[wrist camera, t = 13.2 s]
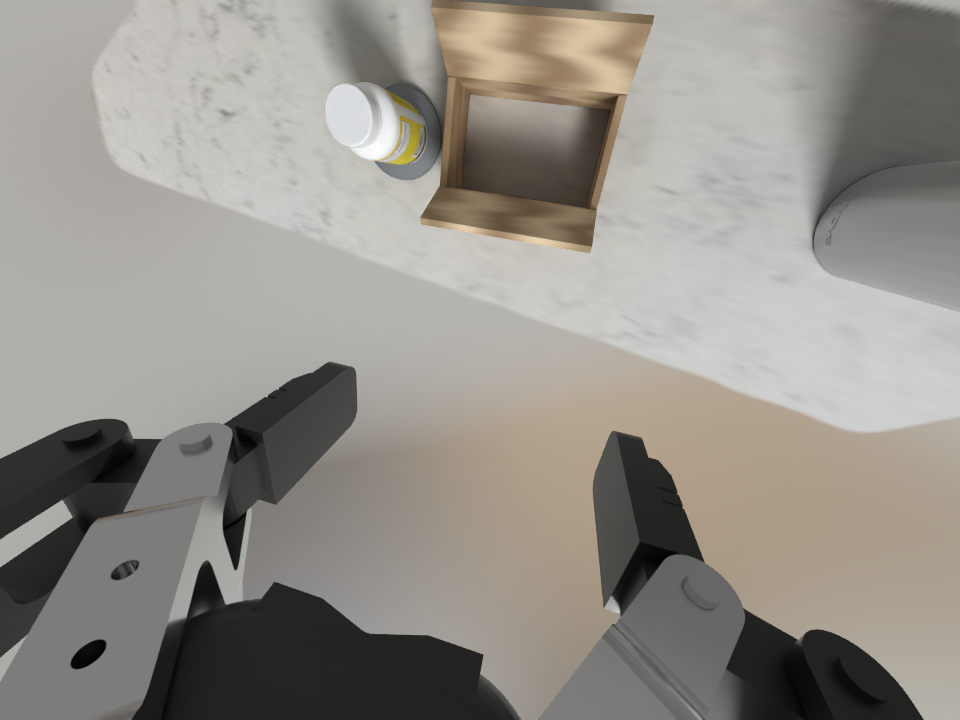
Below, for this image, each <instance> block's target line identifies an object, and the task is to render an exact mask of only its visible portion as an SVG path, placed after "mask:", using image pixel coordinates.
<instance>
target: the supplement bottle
mask: <svg viewBox="0 0 960 720" xmlns="http://www.w3.org/2000/svg"><path fill="white" fill-rule="evenodd" d="M325 118H326V122H327V125H328V127H329V130H330V132H331V133H332V135H333V136H334V137H335V138H336V139H337V140H338V141H339V142H340V143H342V144H344V145H346V146H348V147H349V148H350V149H351V150H352V151H353V152H354V153H355V154H357V155H358V156H360V157H362V158H364V159H368V160H372V161H379V162H385V163H391V164H398V165H408V164H412V163H414V162H415V161H417V160H418V159H419V158H420V157H421V156H422V154H423V152H424V151H425V148H426V145H427V138H428V133H427V126H426V123H425V120H424V118H423V116H422V114H421V113H420V111H419V110H418V109H417V108H416V107H415V106H413V105H412V104H411V103H409V102H407V101H405V100H404V99H402V98H400V97H398V96H396V95H394V94H393V93H391V92H389V91H387V90H386V89H384V88H382V87H380V86H378V85H376V84H373V83H370V82H360V83H356V84H354V85H353V84H349V83H341V84H338V85H336V86H335V87H333V88H332V89H331V91H330V92H329V94H328V96H327V98H326V102H325Z"/></svg>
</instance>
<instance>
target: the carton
mask: <svg viewBox="0 0 960 720" xmlns="http://www.w3.org/2000/svg"><path fill="white" fill-rule="evenodd" d="M431 9H432V13H433V17H434V22H435V26H436V30H437V34H438V38H439V42H440V47H441V51H442V55H443V59H444V63H445V67H446V72H447V75H448V83H447V97H446V111H445V124H444V138H443V152H442V165H441V179H440V186H439V188H438V190H437V191H436V193H435V194H434V196H433V198H432V199H431V201H430V203H429V204H428V206H427V208H426V209H425V211H424V212H423V214H422V216H421V217H420V220H421V224H423V225H429V226H435V227H440V228H446V229H452V230H458V231H464V232H470V233H475V234H481V235H487V236H493V237H499V238H505V239H510V240H516V241H522V242H528V243H534V244H540V245H545V246H551V247H557V248H563V249H569V250H575V251H580V252H586V253H590V251H591V248H592V242H593V234H594V227H595V219H596V210H597V206H598V203H599V199H600V195H601V191H602V188H603V184H604V180H605V176H606V173H607V169H608V165H609V161H610V157H611V154H612V150H613V146H614V142H615V139H616V135H617V131H618V127H619V124H620V120H621V116H622V112H623V108H624V105H625V101H626V97H627V94H628V91H629V89H630V86H631V83H632V80H633V77H634V75H635V72H636V69H637V66H638V63H639V60H640V58H641V55H642V52H643V49H644V46H645V44H646V41H647V38H648V35H649V32H650V30H651V27H652V24H653V19H654V15H642V14H629V13H615V12H602V11H588V10H575V9H561V8H547V7H534V6H520V5H507V4H493V3H480V2H466V1H453V0H433V2H432V6H431ZM470 94H472V95H481V96H490V97H499V98H508V99H517V100H525V101H534V102H543V103H552V104H561V105H570V106H579V107H587V108H596V109H605V110H611V112H610V116H609V120H608V124H607V128H606V132H605V136H604V140H603V144H602V148H601V152H600V155H599V159H598V163H597V167H596V171H595V175H594V179H593V183H592V187H591V191H590V195H589V199H588V203H587V207H586V208H585V207H578V206H572V205H565V204H559V203H552V202H546V201H539V200H533V199H526V198H520V197H513V196H506V195H500V194H493V193H487V192H480V191H474V190H467V189H461V182H462V172H463V162H464V152H465V142H466V131H467V121H468V111H469V101H470Z"/></svg>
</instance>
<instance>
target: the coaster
mask: <svg viewBox="0 0 960 720" xmlns="http://www.w3.org/2000/svg"><path fill="white" fill-rule="evenodd" d="M386 90H387V91H389V92H391V93H393V94H394V95H396V96H398V97H400V98H402V99H404V100H405V101H407V102H409V103H411V104H412V105H413V106H415V107H416V108H417V109H418V110H419V111H420V113H421V114H422V116H423V118H424V120H425V123H426V126H427V133H428V138H427V145H426V148H425V151H424V152H423V154H422V156H421V157H420V158H419V159H418V160H417V161H415V162H414V163H412V164H408V165H398V164H391V163H385V162H379V161H375V163H376V164H377V165H378V166H379V168H380V169H381V170H382V171H384V172H385V173H386V174H388V175H390V176H391V177H394V178H397V179H402V180H412V179H416V178H419V177H421V176H422V175H424V174H425V173H427V172H428V171H429V170H430V169H431V168H432V166H433V165H434V163H435V161H436V159H437V157H438V154H439V151H440V147H441V126H440V121H439V118H438V115H437V113H436V111H435V109H434V107H433V105H432V104H431V103H430V101H429V100H428V99H427V98H426V97H425V96H424V95H423V94H421V93H420V92H419V91H417V90H416V89H414V88H412V87H409V86H405V85H395V86H391V87H388V88H386Z"/></svg>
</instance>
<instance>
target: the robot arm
mask: <svg viewBox="0 0 960 720" xmlns="http://www.w3.org/2000/svg"><path fill="white" fill-rule="evenodd" d="M814 253H815V255H816V258H817V261H818V262H819V263H820V265H821V266H822V267H823V269H825V270H826V271H828V272H829V273H830V274H832V275H834V276H837V277H840V278H842V279H846V280H849V281H853V282H856V283H860V284H863V285H867V286H870V287H873V288H877V289H880V290H884V291H887V292H891V293H894V294H898V295H901V296H905V297H909V298H912V299H916V300H919V301H923V302H926V303H930V304H933V305H937V306H941V307H944V308H948V309H951V310H955V311H958V312H960V160H957V161H945V162H935V163H925V164H916V165H906V166H896V167H892V168H888V169H884V170H880V171H878V172H875V173H873V174H871V175H868V176H866V177H864V178H862V179H861V180H859V181H857V182H856V183H854V184H852V185H851V186H850V187H848V188H847V189H846V190H845V191H843V192H842V193H841V194H840V195H839V196H838V197H837V198H836V199H835V200H834V201H833V202H832V203H831V204H830V205H829V206H828V208H827V209H826V211H825V212H824V214H823V215H822V217H821V219H820V221H819V223H818V226H817V228H816V231H815V236H814ZM356 413H357V387H356V371H355V369H354V368H353V367H350V366H346V365H342V364H338V363H333V362H328V363H326V364H325V365H323V366H322V367H320V368H319V369H317V370H316V371H314V372H313V373H308V374H305V375H303V376H300V377H297V378H294V379H292V380H290V381H289V382H287V383H286V384H284V385H283V386H281V387H280V388H279V390H275V391H274V392H272V393H271V394H269V395H268V397H264V398H263V399H262V400H260V401H259V402H257V403H255V404H254V405H252V406H251V407H249V408H248V409H246V410H245V411H243V412H242V413H240V414H239V415H237V416H236V417H234V418H232V419H231V420H229V421H228V422H226V423H225V424H220V423H202V424H196V425H192V426H188V427H185V428H182V429H180V430H177V431H175V432H173V433H171V434H170V435H168V436H167V437H165V438H164V439H133V437H132V435H131V432H130V430H129V428H128V425H127V424H126V423H125V422H123V421H120V420H116V419H99V420H92V421H86V422H83V423H78V424H75V425H72V426H69V427H66V428H64V429H61V430H59V431H57V432H55V433H53V434H51V435H49V436H47V437H44V438H42V439H40V440H38V441H36V442H34V443H32V444H30V445H28V446H26V447H24V448H22V449H20V450H18V451H16V452H13V453H12V454H9V455H7V456H5V457H3V458H1V459H0V539H1V538H3V537H4V536H6V535H7V534H9V533H10V532H12V531H14V530H15V529H17V528H18V527H20V526H22V525H23V524H25V523H26V522H28V521H29V520H31V519H33V518H34V517H36V516H37V515H39V514H40V513H42V512H44V511H45V510H47V509H48V508H50V507H51V506H53V505H54V504H56V503H58V502H59V501H61V500H63V501H64V503H65V504H66V506H67V508H68V510H69V511H70V513H71V515H72V516H73V518H72V519H70V520H69V521H67V522H66V523H65V524H63V525H61V526H60V527H59V528H57V529H56V530H54V531H53V532H51V533H50V534H48V535H47V536H46V537H44V538H43V539H41V540H40V541H39V542H37V543H35V544H34V545H32V546H31V547H29V548H28V549H26V550H25V551H24V552H22V553H21V554H19V555H18V556H16V557H15V558H13V559H12V560H10V561H9V562H7V563H6V564H5V565H3V566H2V567H0V657H1V656H2V655H4V654H5V653H6V652H7V651H8V650H10V649H11V648H12V647H13V646H14V645H15V644H16V643H18V642H19V641H20V640H21V639H22V638H24V637H25V636H26V635H27V634H28V635H27V637H26V638H25V640H24V642H23V644H22V645H21V647H20V649H19V650H18V652H17V654H16V656H15V657H14V659H13V661H12V663H11V664H10V666H9V668H8V669H7V671H6V673H5V675H4V676H3V678H2V680H1V682H0V720H521V719H520V717H519V716H518V714H517V712H516V711H515V710H514V708H513V707H512V706H511V704H510V703H509V702H508V700H507V699H506V698H505V696H504V695H503V694H502V693H501V692H500V691H499V690H498V689H497V688H496V687H495V686H494V685H493V684H492V683H491V682H490V681H489V680H487V679H486V678H485V677H483V676H482V675H481V674H480V671H481V665H482V659H483V654H480V653H477V652H474V651H471V650H468V649H466V648H463V647H460V646H457V645H454V644H451V643H449V642H445V641H443V640H440V639H437V638H434V637H431V636H426V635H389V634H369V633H366V632H364V631H362V630H361V629H360V628H358V627H357V626H356V625H355V624H353V623H352V622H351V621H350V620H348V619H347V618H346V617H345V616H344V615H342V614H341V613H340V612H339V611H337V610H336V609H335V608H334V607H332V606H331V605H330V604H329V603H327V602H326V601H325V600H324V599H322V598H320V597H317V596H313V595H311V594H308V593H305V592H302V591H299V590H297V589H294V588H291V587H288V586H285V585H282V584H279V583H276V582H274V583H273V585H272V586H271V587H270V589H269V590H268V591H267V592H266V594H265V595H264V596H263V598H262V599H255V600H245V601H243V591H242V583H243V573H244V566H245V559H246V553H247V545H248V539H249V532H250V525H251V518H252V511H251V506H252V505H253V504H254V503H255V502H256V501H257V500H258V499H260V500H263V501H266V502H269V503H273V504H277V503H278V502H279V501H280V500H281V499H282V498H283V497H284V496H285V495H286V493H288V491H289V490H290V489H291V488H292V487H293V486H294V485H295V484H296V483H297V482H298V481H299V480H300V479H301V478H302V477H303V476H304V475H305V474H306V473H307V471H308V470H309V469H310V468H311V467H312V466H313V465H314V464H315V463H316V462H317V461H318V460H319V459H320V458H321V457H322V456H323V455H324V453H325V452H326V451H327V450H328V449H329V448H330V447H331V446H332V445H333V444H334V443H335V442H336V441H337V440H338V439H339V438H340V437H341V436H342V435H343V433H344V432H345V431H346V430H347V429H348V428H349V427H350V426H351V424H352V423H353V421H354V419H355V417H356ZM593 499H594V510H595V520H596V531H597V542H598V552H599V563H600V574H601V584H602V595H603V606H604V609H605V610H608V611H612V612H615V613H618V614H620V616H621V618H620V619H619V620H618V621H617V623H616V624H615V625H614V624H613V625H612V626H610V628H609V629H608V630H607V631H606V632H605V634H604V635H603V636H602V638H601V639H600V640H599V641H598V643H597V644H596V645H595V647H594V648H593V649H592V650H591V652H590V653H589V654H588V656H587V657H586V658H585V660H584V661H583V662H582V663H581V665H580V666H579V667H578V669H577V670H576V671H575V673H574V674H573V675H572V676H571V678H570V679H569V680H568V682H567V683H566V684H565V685H564V687H563V688H562V689H561V691H560V692H559V693H558V695H557V696H556V697H555V699H554V700H553V701H552V702H551V704H550V705H549V706H548V708H547V709H546V710H545V711H544V713H543V714H542V716H541V717H540V718H539V719H538V720H923V718H922V716H921V715H920V713H919V712H918V710H917V709H916V707H915V706H914V704H913V703H912V701H911V700H910V698H909V697H908V695H907V694H906V693H905V691H904V690H903V688H902V687H901V686H900V685H899V684H898V683H897V681H896V680H895V679H894V678H893V677H892V676H891V675H890V674H889V673H888V672H887V671H886V670H885V669H884V668H883V667H882V666H881V665H880V664H879V663H878V662H877V661H876V660H875V659H873V658H872V657H871V656H870V655H868V654H867V653H866V652H864V651H863V650H862V649H860V648H859V647H858V646H856V645H855V644H853V643H851V642H850V641H848V640H846V639H844V638H842V637H840V636H839V635H836V634H834V633H831V632H828V631H824V630H817V629H816V630H810V631H808V632H806V633H805V634H804V635H803V636H802V637H801V638H800V639H799V640H797V639H795V638H794V637H792V636H790V635H788V634H787V633H785V632H783V631H781V630H780V629H778V628H776V627H774V626H773V625H771V624H769V623H767V622H766V621H764V620H762V619H760V618H758V617H757V616H755V615H753V614H752V613H750V612H748V611H747V610H745V609H744V608H743V606H742V604H741V601H740V599H739V597H738V596H737V594H736V592H735V591H734V589H733V588H732V587H731V585H730V584H729V583H728V582H727V581H726V580H725V579H724V578H723V577H722V576H721V575H720V574H719V573H718V572H717V571H715V570H714V569H713V568H711V567H710V566H709V565H707V564H705V562H704V559H703V557H702V554H701V552H700V549H699V546H698V544H697V541H696V539H695V536H694V534H693V531H692V528H691V526H690V523H689V520H688V518H687V515H686V513H685V510H684V509H682V506H683V505H682V502H681V500H680V497H679V495H677V489H676V487H675V484H674V482H673V479H672V476H671V475H670V474H669V472H668V471H667V470H666V469H665V468H664V467H663V465H662V464H661V463H660V462H659V461H658V460H656V459H652V458H648V455H647V452H646V449H645V446H644V443H643V440H642V438H640V437H637V436H633V435H629V434H625V433H621V432H616V431H612V432H611V434H610V436H609V438H608V441H607V443H606V446H605V448H604V451H603V454H602V456H601V459H600V461H599V464H598V467H597V469H596V472H595V476H594V481H593Z"/></svg>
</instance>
